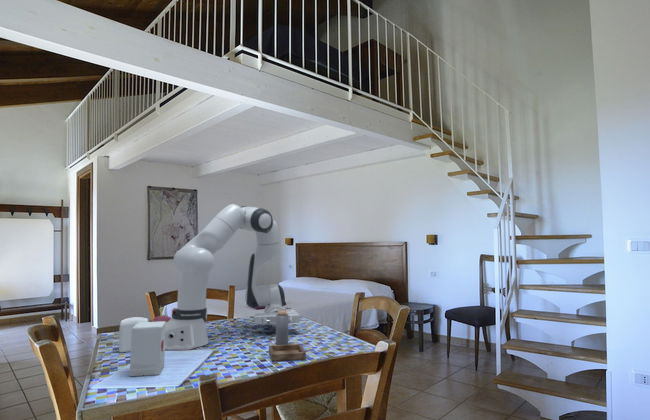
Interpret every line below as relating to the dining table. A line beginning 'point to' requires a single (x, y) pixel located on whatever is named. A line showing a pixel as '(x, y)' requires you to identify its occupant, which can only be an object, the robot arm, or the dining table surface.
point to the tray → (287, 352)
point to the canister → (282, 327)
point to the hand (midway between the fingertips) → (278, 321)
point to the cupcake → (161, 317)
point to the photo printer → (127, 332)
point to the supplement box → (147, 348)
